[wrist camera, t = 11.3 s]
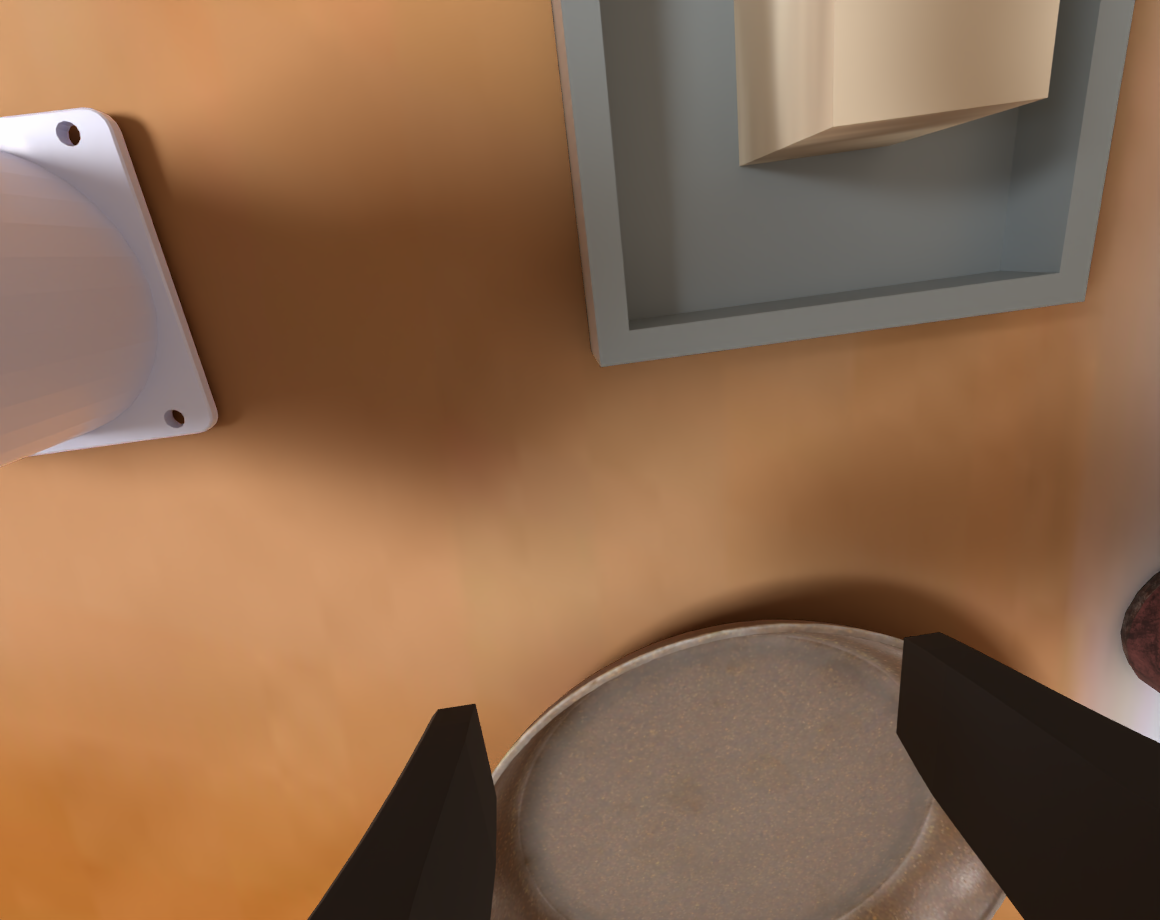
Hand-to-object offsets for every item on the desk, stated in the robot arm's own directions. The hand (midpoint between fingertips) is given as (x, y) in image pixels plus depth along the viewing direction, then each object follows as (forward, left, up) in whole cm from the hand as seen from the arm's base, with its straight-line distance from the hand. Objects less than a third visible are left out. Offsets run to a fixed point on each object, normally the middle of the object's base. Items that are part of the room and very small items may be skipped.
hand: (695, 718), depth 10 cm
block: (+6, +11, -9) cm, 15 cm away
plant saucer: (+3, -14, -10) cm, 17 cm away
